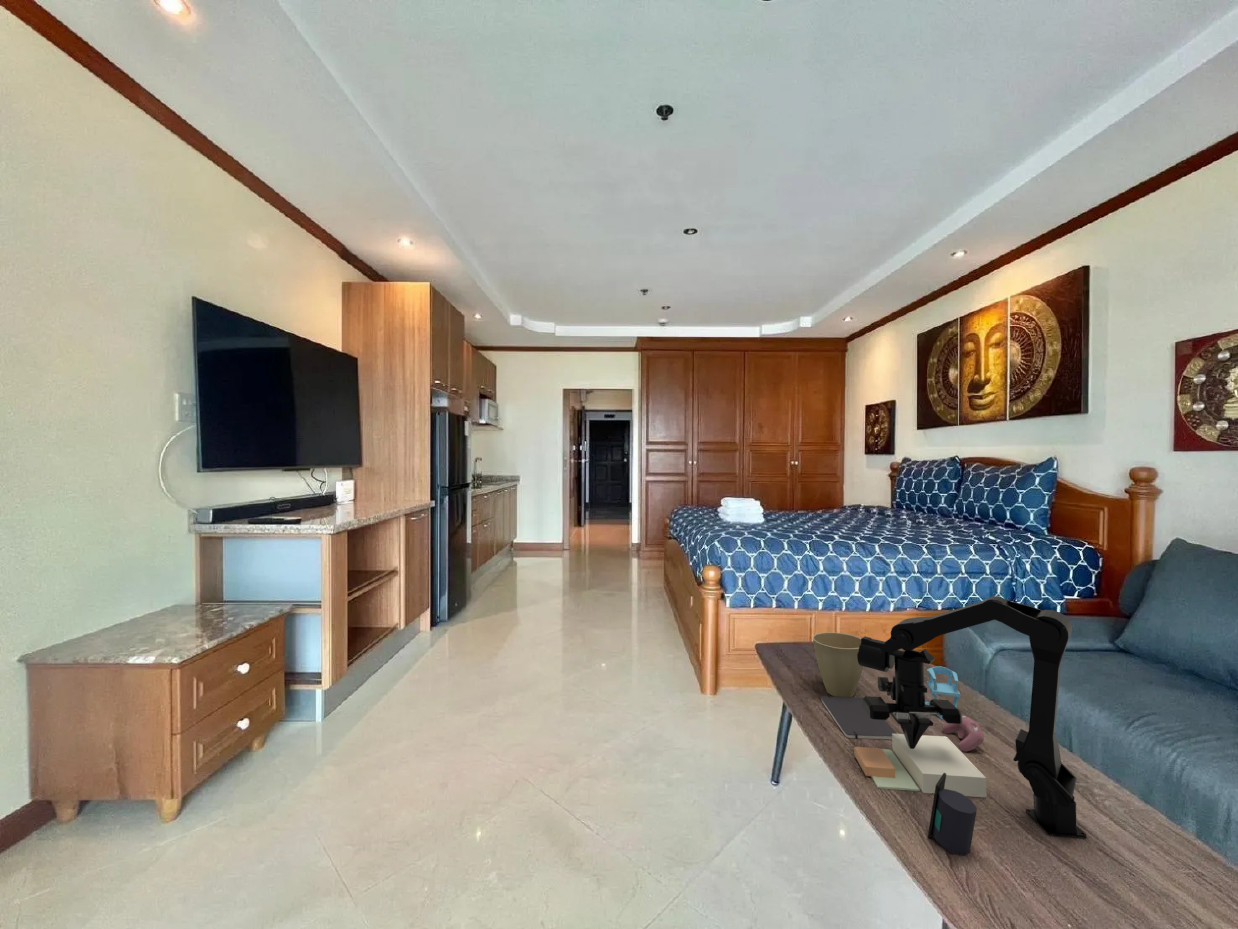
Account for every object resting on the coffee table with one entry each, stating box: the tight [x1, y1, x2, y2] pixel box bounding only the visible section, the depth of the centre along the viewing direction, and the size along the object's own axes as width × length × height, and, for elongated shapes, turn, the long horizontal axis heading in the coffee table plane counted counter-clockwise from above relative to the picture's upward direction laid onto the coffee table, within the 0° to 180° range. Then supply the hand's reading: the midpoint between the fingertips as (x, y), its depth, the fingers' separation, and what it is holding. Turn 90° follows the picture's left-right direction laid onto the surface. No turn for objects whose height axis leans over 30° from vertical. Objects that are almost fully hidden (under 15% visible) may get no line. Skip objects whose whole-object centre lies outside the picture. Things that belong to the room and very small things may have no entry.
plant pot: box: [812, 632, 864, 697], centre depth 150 cm, size 15×15×16 cm
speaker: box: [927, 773, 978, 856], centre depth 90 cm, size 8×6×10 cm
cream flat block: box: [891, 733, 988, 798], centre depth 110 cm, size 16×12×4 cm
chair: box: [925, 665, 961, 721], centre depth 137 cm, size 8×8×12 cm
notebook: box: [820, 695, 898, 740], centre depth 135 cm, size 13×2×21 cm
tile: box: [853, 746, 895, 778], centre depth 112 cm, size 8×6×2 cm
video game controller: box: [941, 715, 985, 753], centre depth 122 cm, size 10×5×7 cm, turn 170°
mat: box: [870, 748, 921, 792], centre depth 112 cm, size 15×8×1 cm, turn 172°
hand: (911, 747), depth 111 cm, fingers closed
